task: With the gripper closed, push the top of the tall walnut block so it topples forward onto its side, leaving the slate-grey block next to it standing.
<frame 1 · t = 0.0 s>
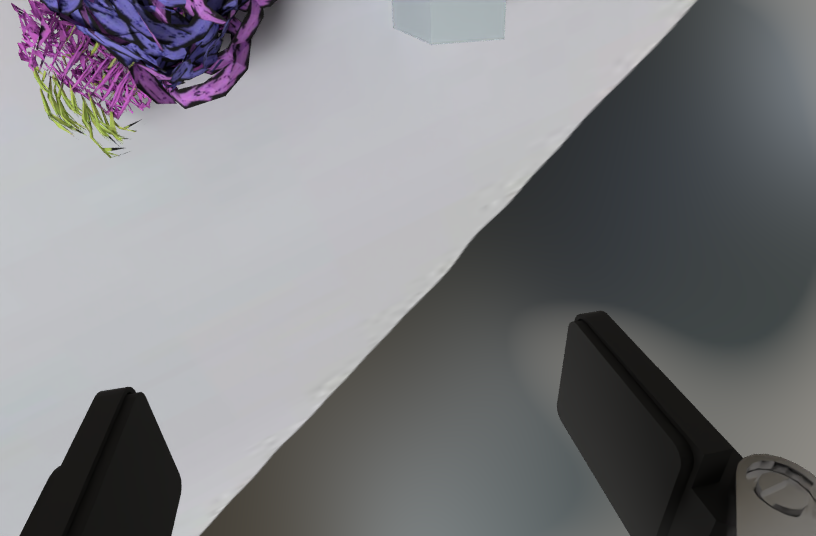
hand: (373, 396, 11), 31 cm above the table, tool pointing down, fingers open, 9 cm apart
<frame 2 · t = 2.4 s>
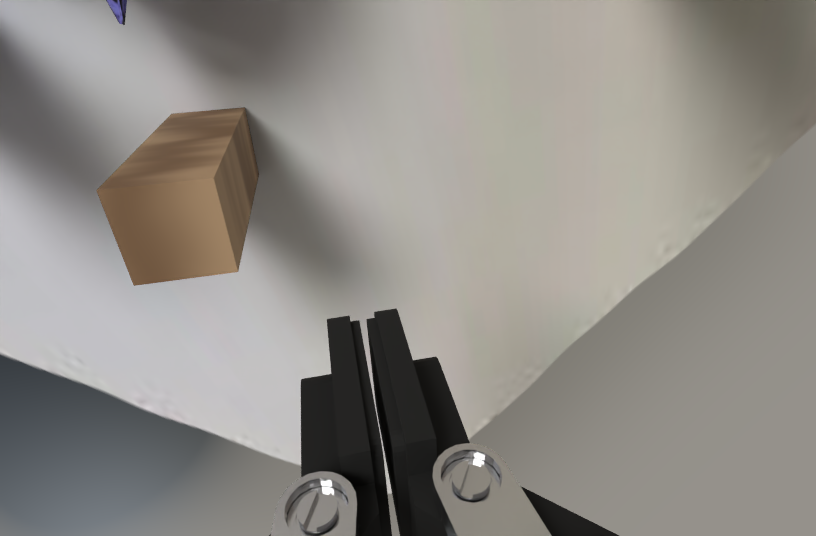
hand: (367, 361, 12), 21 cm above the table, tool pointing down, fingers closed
walnut block: (217, 145, 29), on the table
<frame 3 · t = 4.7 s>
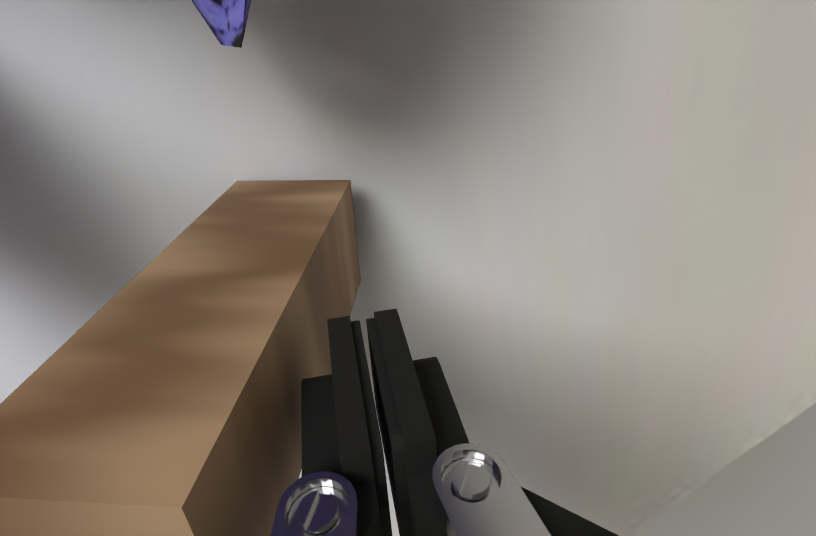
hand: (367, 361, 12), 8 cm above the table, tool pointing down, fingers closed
walnut block: (301, 232, 18), point 1 cm above the table, tilted 15°
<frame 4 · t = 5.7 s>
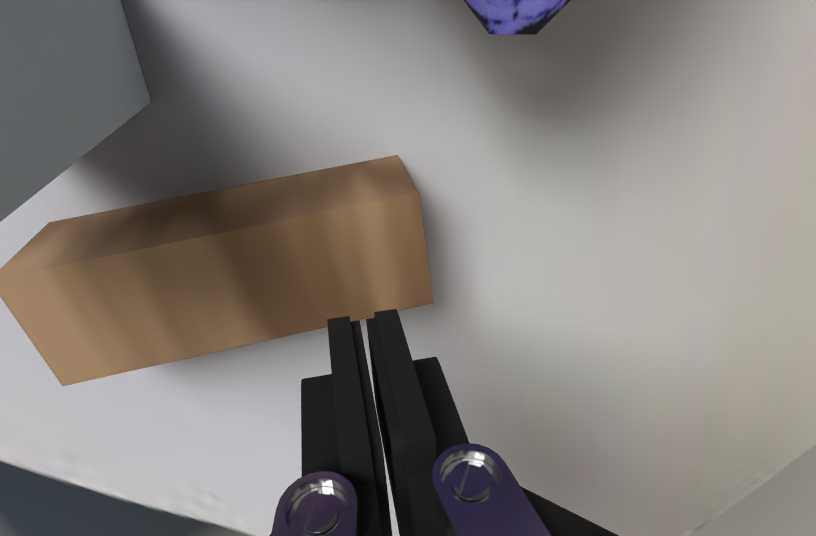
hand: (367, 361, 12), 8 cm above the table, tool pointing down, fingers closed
grey block: (55, 35, 14), on the table
walnut block: (414, 225, 17), point 2 cm above the table, tilted 90°
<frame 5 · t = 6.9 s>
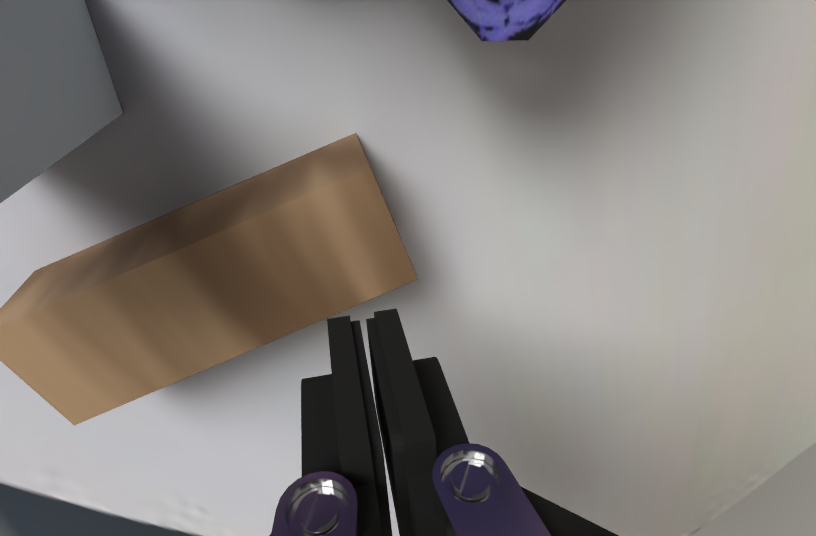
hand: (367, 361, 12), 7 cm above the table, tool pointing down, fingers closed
grey block: (22, 47, 14), on the table
walnut block: (385, 202, 16), point 2 cm above the table, tilted 90°
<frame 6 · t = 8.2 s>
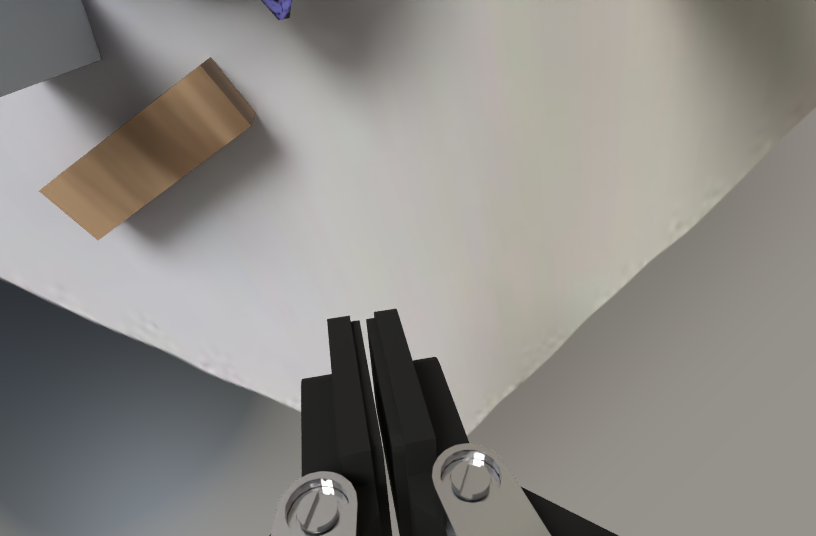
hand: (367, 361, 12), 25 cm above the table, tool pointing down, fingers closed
grey block: (50, 23, 28), on the table
walnut block: (230, 90, 29), point 2 cm above the table, tilted 90°
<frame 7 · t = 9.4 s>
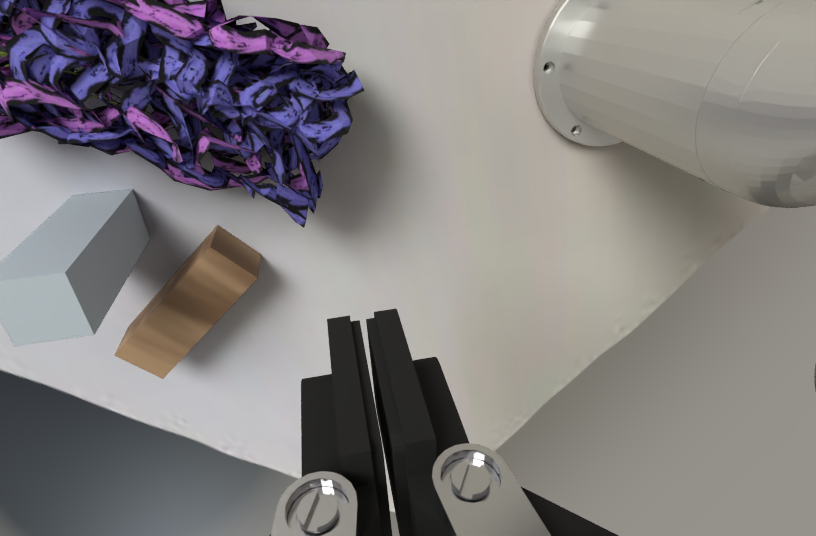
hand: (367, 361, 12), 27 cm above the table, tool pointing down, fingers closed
grey block: (112, 217, 36), on the table
decorative ornament: (115, 46, 31), on the table
walnut block: (237, 250, 37), point 2 cm above the table, tilted 90°
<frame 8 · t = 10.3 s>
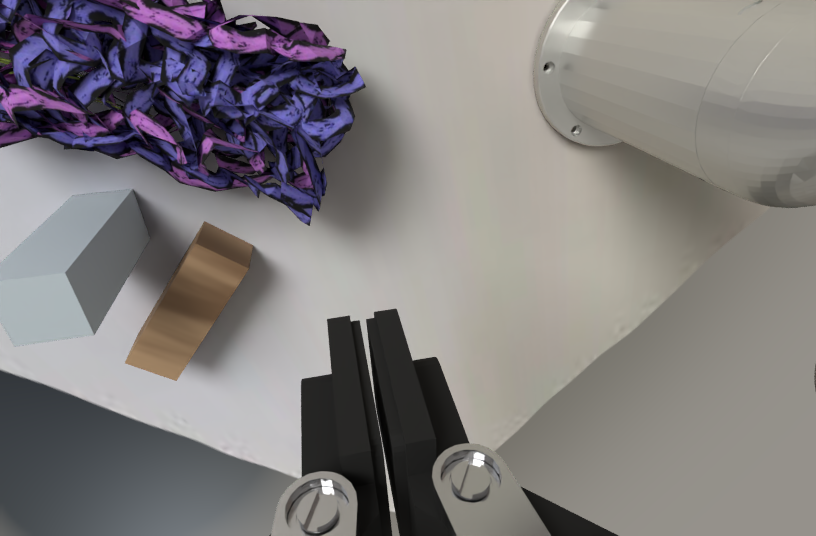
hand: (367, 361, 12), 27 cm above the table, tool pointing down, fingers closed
grey block: (112, 218, 36), on the table
decorative ornament: (117, 50, 31), on the table
walnut block: (226, 243, 37), point 2 cm above the table, tilted 90°
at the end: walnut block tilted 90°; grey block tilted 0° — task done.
